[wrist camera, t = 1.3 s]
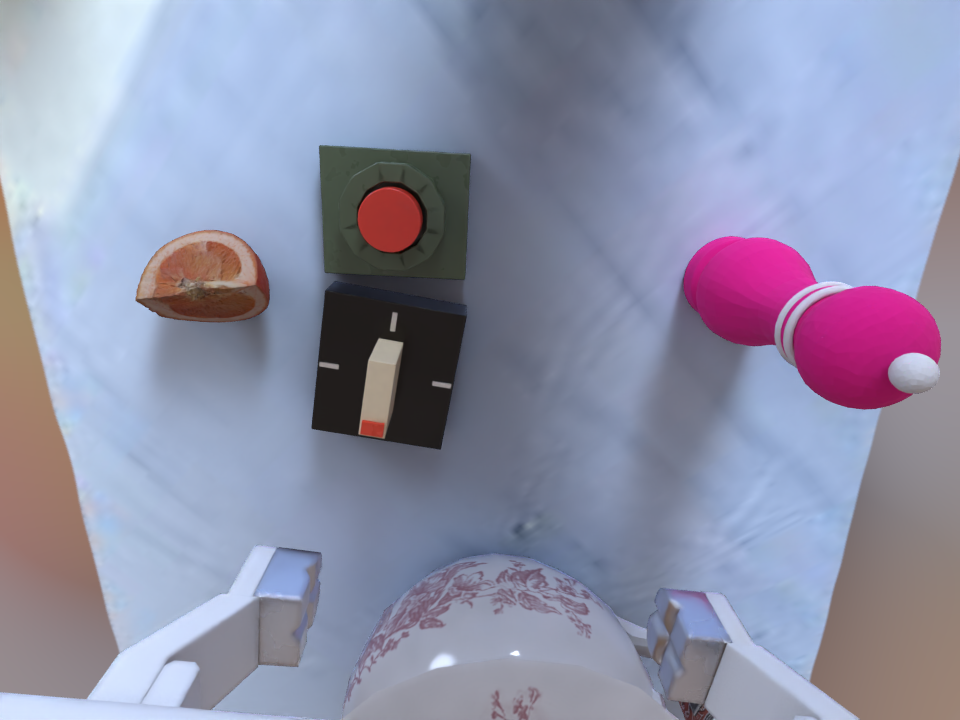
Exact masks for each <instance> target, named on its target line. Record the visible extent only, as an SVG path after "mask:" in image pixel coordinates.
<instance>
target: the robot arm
mask: <svg viewBox="0 0 960 720" xmlns="http://www.w3.org/2000/svg"><path fill="white" fill-rule="evenodd" d="M321 567H322V554H321V552H313V551H305V550H297V549H289V548H281V547H279V548H277V547H271V546H263V545H256V546H255V547H254V548H253V549H252V550H251V552H250V554H249V556H248V558H247V559H246V561H245V563H244V565H243V566H242V568H241V570H240V572H239V574H238V575H237V577H236V579H235V581H234V582H233V584H232V586H231V588H230V590H229V591H228V593H227V594H222V593H220V594H219V595H217V596H215V597H214V598H212V599H210V600H209V601H207V602H205V603H203V604H202V605H200V606H198V607H197V608H195V609H193V610H192V611H190V612H188V613H187V614H185V615H183V616H182V617H180V618H178V619H176V620H175V621H173V622H171V623H170V624H168V625H166V626H165V627H163V628H161V629H160V630H158V631H156V632H155V633H153V634H151V635H149V636H148V637H146V638H144V639H143V640H141V641H139V642H138V643H136V644H134V645H133V646H131V647H129V648H128V649H126V650H124V651H122V652H121V653H119V655H118V656H117V657H116V659H115V660H114V662H113V663H112V664H111V666H110V667H109V668H108V670H107V671H106V673H105V674H104V676H103V677H102V678H101V680H100V681H99V682H98V684H97V685H96V687H95V688H94V690H93V691H92V692H91V694H90V695H89V696H88V698H87V699H75V698H63V697H51V696H39V695H27V694H15V693H4V692H3V693H2V692H0V720H326V719H314V718H302V717H290V716H278V715H266V714H254V713H242V712H230V711H218V710H211V709H212V708H213V707H215V706H216V705H217V704H218V703H219V702H220V701H221V700H222V699H223V698H224V697H226V696H227V695H228V694H229V693H230V692H231V691H232V690H233V689H234V688H235V687H236V686H238V685H239V684H240V683H241V682H242V681H243V680H244V679H245V678H246V677H247V676H249V675H250V674H251V673H252V672H253V671H254V670H255V669H256V668H257V667H258V665H274V666H290V667H298V666H299V663H300V660H301V657H302V654H303V651H304V648H305V645H306V642H307V629H308V628H310V627H311V626H312V624H313V621H314V618H315V614H316V610H317V606H318V601H319V594H320V581H319V580H318V576H319V573H320V570H321ZM655 604H656V606H657V608H658V610H656V611H655V612H654V613H653V614H651V615H650V617H649V621H648V625H647V644H648V649H649V652H650V655H651V657H652V659H653V660H654V661H656V662H657V663H658V664H659V665H660V670H659V673H658V676H659V679H660V681H661V684H662V686H663V689H664V691H665V694H666V697H667V699H668V700H672V701H680V702H689V703H697V704H704V707H705V708H706V709H707V710H708V712H709V713H710V714H711V715H712V716H713V717H714V718H715V719H716V720H860V719H859V718H857V717H856V716H855V715H853V714H852V713H850V712H849V711H848V710H847V709H845V708H844V707H842V706H841V705H840V704H839V703H837V702H836V701H835V700H833V699H832V698H830V697H829V696H828V695H826V694H825V693H824V692H822V691H821V690H820V689H818V688H817V687H816V686H814V685H813V684H812V683H810V682H809V681H808V680H806V679H805V678H804V677H802V676H801V675H800V674H798V673H797V672H796V671H794V670H793V669H792V668H790V667H789V666H787V665H786V664H785V663H783V662H782V661H781V660H779V659H778V658H777V657H775V656H774V655H773V654H771V653H770V652H769V651H767V650H766V649H765V648H763V647H762V646H756V645H755V644H754V642H753V641H752V639H751V638H750V636H749V634H748V633H747V631H746V629H745V628H744V626H743V624H742V623H741V621H740V620H739V618H738V616H737V615H736V613H735V611H734V610H733V608H732V606H731V605H730V603H729V601H728V600H727V598H726V597H725V596H724V595H723V594H722V593H716V592H703V591H701V592H697V591H687V590H677V589H666V588H660V590H659V591H658V592H657V595H656V598H655Z"/></svg>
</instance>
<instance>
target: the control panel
mask: <svg viewBox="0 0 960 720" xmlns="http://www.w3.org/2000/svg"><path fill="white" fill-rule="evenodd" d="M466 317H467V306H466V305H462V304H457V303H451V302H446V301H441V300H435V299H430V298H424V297H419V296H413V295H408V294H403V293H397V292H392V291H386V290H381V289H375V288H370V287H365V286H359V285H354V284H348V283H343V282H338V281H335V282H334V283H333V284H332V285H331V286H330V287H329V288H327V289H326V291H325V299H324V308H323V318H322V328H321V338H320V348H319V358H318V368H317V378H316V388H315V397H314V407H313V417H312V427H311V428H312V429H316V430H322V431H328V432H334V433H341V434H347V435H353V436H359V437H365V438H372V439H378V440H384V441H390V442H396V443H403V444H409V445H415V446H421V447H428V448H434V449H441V445H442V440H443V435H444V430H445V425H446V420H447V414H448V409H449V404H450V399H451V394H452V389H453V384H454V379H455V373H456V368H457V363H458V358H459V353H460V348H461V343H462V337H463V332H464V327H465V322H466ZM379 338H381V339H386V340H392V341H398V342H403V349H402V356H401V362H400V369H399V375H398V381H397V388H396V394H395V400H394V407H393V412H392V415H391V419H390V422H389V426H388V429H387V433H386V436H385V439H383V438H376V437H370V436H364V435H359V434H358V433H359V426H360V419H361V411H362V404H363V396H364V389H365V381H366V374H367V367H368V360H369V358H370V356H371V354H372V352H373V349H374V347H375V345H376V343H377V341H378V339H379Z"/></svg>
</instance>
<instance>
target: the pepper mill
mask: <svg viewBox="0 0 960 720" xmlns="http://www.w3.org/2000/svg"><path fill="white" fill-rule="evenodd" d="M684 292H685V296H686V299H687V301H688V302H689V304H690V305H691V307H692V308H693V309H694V310H696V311H697V312H698V313H699V314H700V316H701V318H702V320H703V322H704V323H705V324H706V326H707V327H708V328H709V329H710V330H711V331H712V332H714V333H715V334H717V335H719V336H720V337H722V338H724V339H726V340H728V341H731V342H733V343H736V344H742V345H747V346H763V345H776V347H777V349H778V351H779V353H780V355H781V356H782V357H783V358H784V359H785V360H786V361H787V362H788V363H790V364H791V365H793V366H795V367H796V368H797V369H798V372H799V373H800V375H801V377H802V379H803V380H804V382H805V384H806V385H808V386H809V387H810V388H811V389H812V390H813V391H814V392H815V393H817V394H818V395H820V396H821V397H823V398H825V399H826V400H828V401H830V402H832V403H835V404H838V405H841V406H845V407H848V408H856V409H877V408H881V407H886V406H890V405H892V404H895V403H898V402H900V401H902V400H904V399H906V398H908V397H909V396H911V395H912V394H919V393H923V392H925V391H928V390H930V389H931V388H933V387H934V386H935V385H936V383H937V381H938V379H939V375H940V372H939V367H938V366H937V364H938V361H939V358H940V352H941V338H940V334H939V330H938V327H937V325H936V322H935V320H934V318H933V317H932V316H931V314H930V313H929V311H928V310H927V309H926V308H925V307H924V306H923V305H921V304H920V303H919V302H918V301H916V300H915V299H913V298H912V297H910V296H908V295H906V294H904V293H901V292H898V291H895V290H893V289H889V288H883V287H878V286H861V287H856V288H855V287H851V286H849V285H847V284H844V283H840V282H822V283H817V282H816V280H815V278H814V276H813V273H812V271H811V269H810V266H809V265H808V264H807V262H806V261H805V260H804V259H803V258H802V256H801V255H800V254H799V253H798V252H797V251H795V250H794V249H793V248H791V247H789V246H787V245H785V244H783V243H781V242H778V241H776V240H773V239H769V238H748V239H745V238H741V237H733V236H729V237H722V238H719V239H716V240H714V241H712V242H709V243H708V244H706V245H705V246H703V247H702V248H701V249H700V250H699V251H698V252H697V253H696V254H695V255H694V256H693V258H692V259H691V261H690V262H689V264H688V266H687V268H686V271H685V276H684Z"/></svg>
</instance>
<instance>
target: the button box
mask: <svg viewBox="0 0 960 720" xmlns="http://www.w3.org/2000/svg"><path fill="white" fill-rule="evenodd" d="M319 154H320V177H321V199H322V222H323V244H324V267H325V273H336V274H357V275H377V276H398V277H418V278H439V279H459V280H465V273H466V251H467V229H468V207H469V185H470V163H471V154H467V153H450V152H432V151H415V150H398V149H380V148H363V147H346V146H328V145H320V146H319ZM383 187H398V188H402V189H404V190H406V191H408V192H409V193H410V194H412V195H413V196H414V197H415V199H416V200H417V202H418V203H419V205H420V207H421V210H422V215H423V223H422V228H421V231H420V233H419V235H418V236H417V238H416V240H415V241H414V242H413V243H412V244H411V245H410V246H409V247H408V248H406V249H404V250H402V251H399V252H383V251H380V250H377V249H376V248H374V247H372V246H371V245H370V244H369V243H368V242H367V241H366V240H365V239H364V237H363V236H362V234H361V232H360V229H359V226H358V211H359V208H360V205H361V203H362V202H363V200H364V199H365V198H366V197H367V196H368V195H369V194H370V193H372V192H374V191H376V190H378V189H380V188H383Z"/></svg>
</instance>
